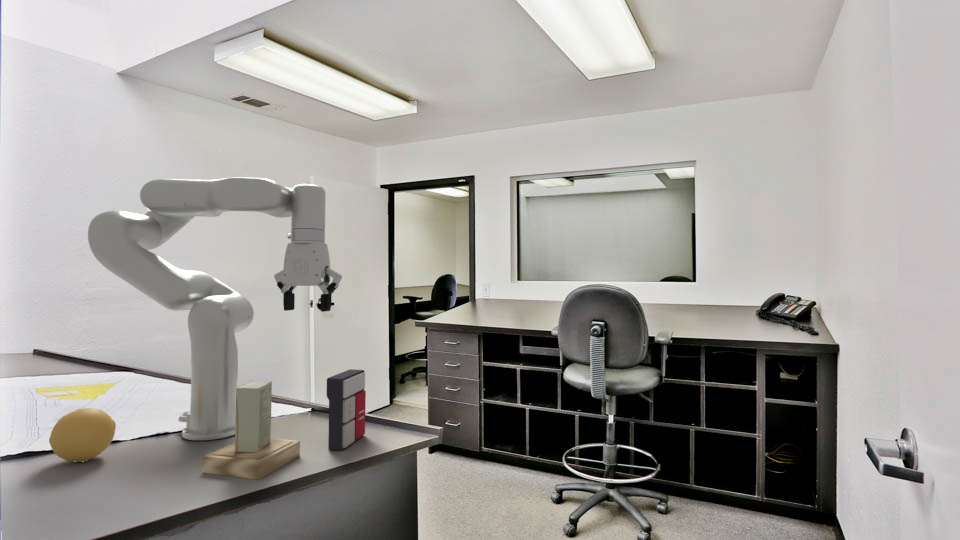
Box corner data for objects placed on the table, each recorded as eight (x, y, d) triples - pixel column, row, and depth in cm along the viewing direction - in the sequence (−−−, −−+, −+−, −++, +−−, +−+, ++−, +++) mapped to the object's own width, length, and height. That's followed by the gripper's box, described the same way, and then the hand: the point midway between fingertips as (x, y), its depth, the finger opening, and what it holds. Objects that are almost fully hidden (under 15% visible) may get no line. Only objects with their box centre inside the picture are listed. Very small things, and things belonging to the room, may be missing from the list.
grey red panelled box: (344, 451, 101) (345, 379, 101) (325, 450, 102) (326, 378, 102) (366, 435, 112) (367, 369, 112) (349, 434, 113) (350, 368, 113)
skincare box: (249, 441, 97) (250, 380, 97) (271, 441, 97) (272, 380, 97) (233, 452, 91) (234, 387, 91) (257, 453, 91) (258, 387, 91)
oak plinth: (203, 472, 90) (203, 455, 90) (248, 450, 101) (249, 435, 101) (259, 479, 87) (259, 461, 87) (299, 456, 98) (299, 440, 98)
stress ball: (100, 470, 92) (137, 425, 100) (58, 441, 87) (100, 395, 95) (66, 472, 96) (104, 427, 103) (23, 443, 90) (67, 399, 98)
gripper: (265, 237, 113) (264, 310, 113) (332, 235, 109) (331, 312, 109) (286, 239, 120) (285, 309, 120) (349, 238, 116) (348, 310, 116)
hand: (307, 310), depth 114 cm, fingers open, 9 cm apart
